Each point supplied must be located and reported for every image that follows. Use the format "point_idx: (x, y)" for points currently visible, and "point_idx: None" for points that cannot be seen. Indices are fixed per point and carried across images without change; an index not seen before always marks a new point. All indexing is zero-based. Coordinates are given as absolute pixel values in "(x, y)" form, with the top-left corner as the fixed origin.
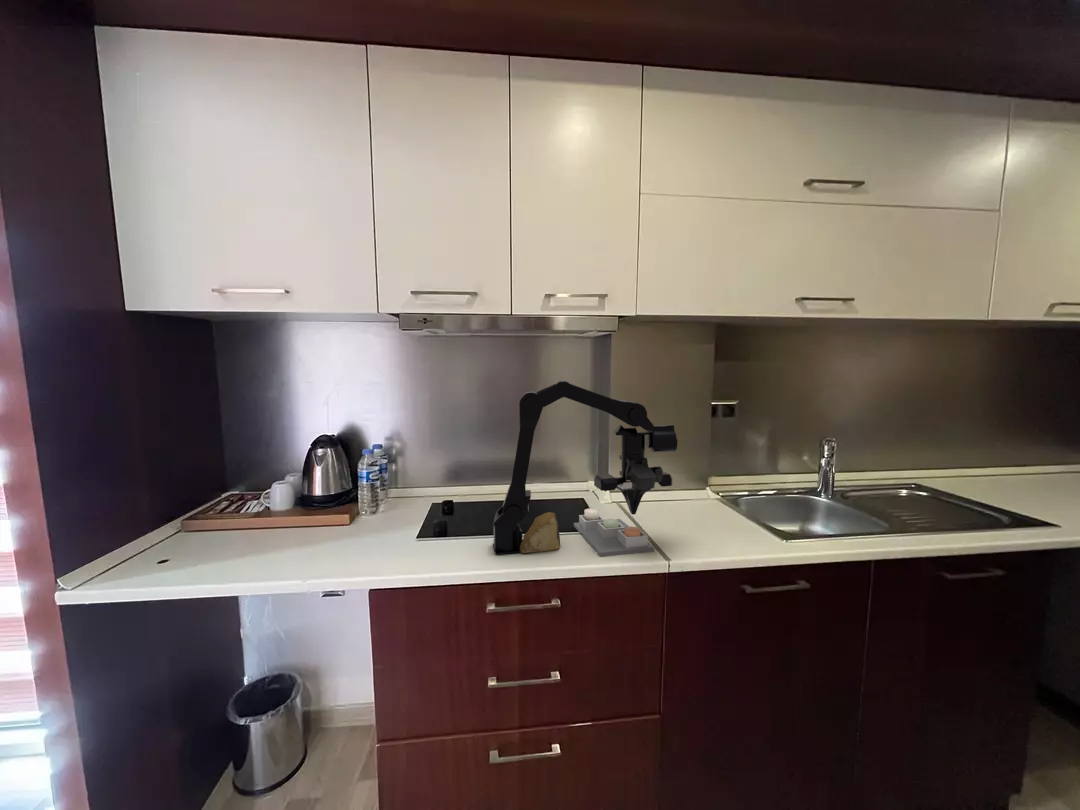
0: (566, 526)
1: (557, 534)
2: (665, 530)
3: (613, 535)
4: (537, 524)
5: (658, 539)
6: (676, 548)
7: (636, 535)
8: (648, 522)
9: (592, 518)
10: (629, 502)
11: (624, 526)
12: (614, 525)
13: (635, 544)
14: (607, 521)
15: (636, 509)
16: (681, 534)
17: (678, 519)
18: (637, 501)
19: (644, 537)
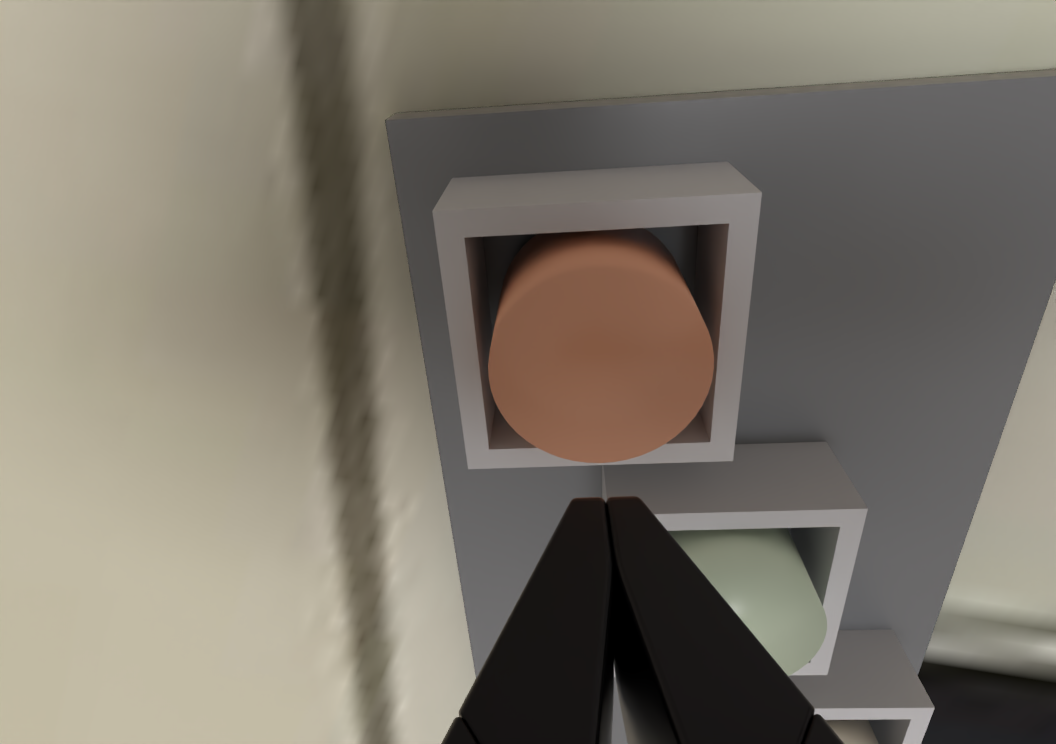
0: (930, 740)
1: None
2: (163, 556)
3: (734, 461)
4: None
5: (269, 398)
6: (125, 146)
7: (582, 251)
8: (271, 700)
9: (844, 741)
10: (827, 734)
11: None
12: (729, 555)
13: (609, 176)
14: (777, 638)
15: (560, 556)
16: (29, 461)
17: (24, 706)
18: (547, 739)
19: (480, 205)
